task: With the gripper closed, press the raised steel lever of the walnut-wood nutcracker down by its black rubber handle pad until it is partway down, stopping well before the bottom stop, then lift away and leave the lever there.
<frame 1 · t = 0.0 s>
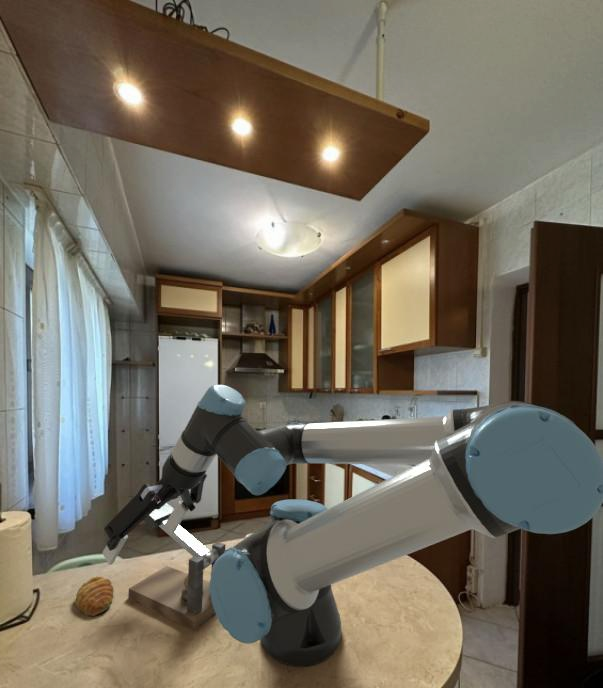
hand: (141, 541, 65), 15 cm above the table, tool tilted 35°, fingers open, 13 cm apart
nutcracker base: (178, 599, 71), on the table
lever: (179, 533, 73), point 13 cm above the table, hinge at -20.0°
pepper shaker: (250, 586, 75), on the table
pastry: (96, 603, 70), on the table
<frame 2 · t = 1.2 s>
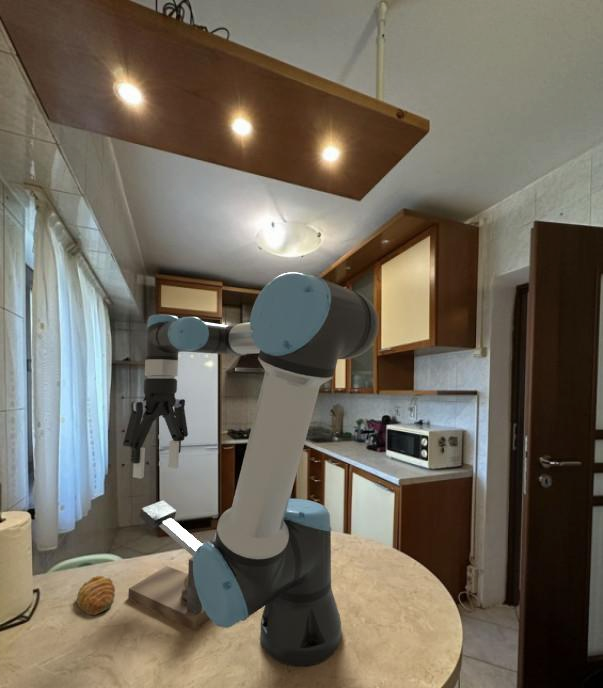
hand: (156, 472, 78), 26 cm above the table, tool pointing down, fingers open, 9 cm apart
nothing on the table moved.
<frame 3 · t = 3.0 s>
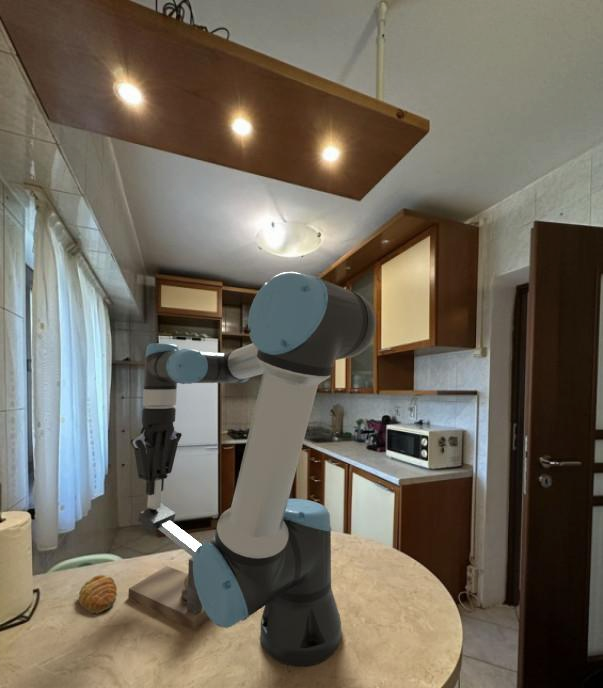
hand: (153, 507, 77), 17 cm above the table, tool pointing down, fingers closed
lever: (179, 535, 73), point 13 cm above the table, hinge at -17.2°, touching gripper
everything else where it was.
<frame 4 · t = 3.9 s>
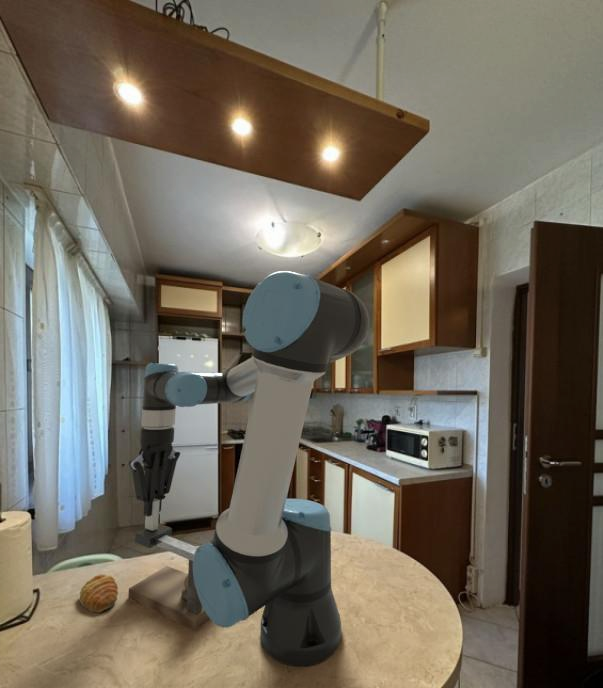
hand: (151, 528, 77), 13 cm above the table, tool pointing down, fingers closed
lever: (177, 546, 73), point 11 cm above the table, hinge at -2.6°, touching gripper
everything else where it was.
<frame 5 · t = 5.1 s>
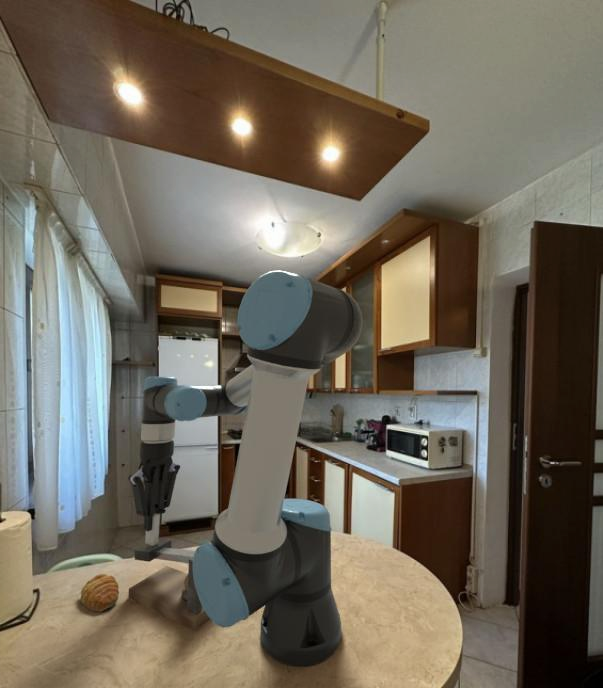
hand: (151, 542, 77), 9 cm above the table, tool pointing down, fingers closed
lever: (177, 554, 72), point 9 cm above the table, hinge at 8.2°, touching gripper
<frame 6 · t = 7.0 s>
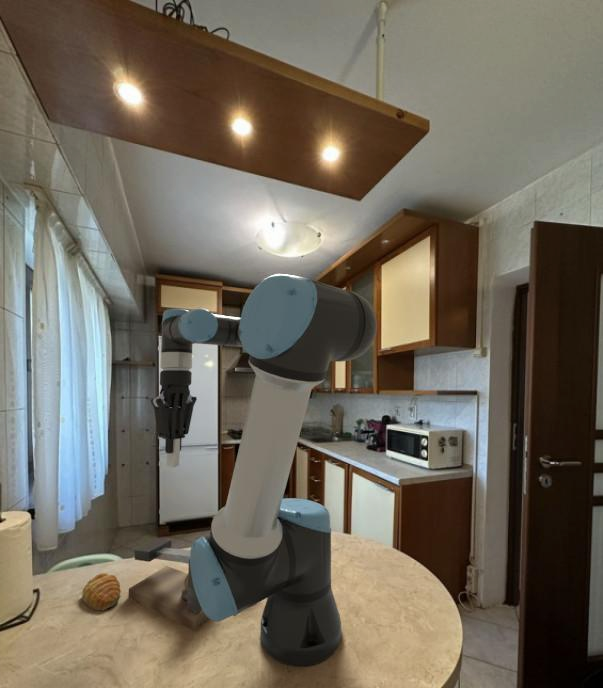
hand: (172, 465, 80), 26 cm above the table, tool pointing down, fingers closed
lever: (177, 554, 72), point 9 cm above the table, hinge at 8.2°
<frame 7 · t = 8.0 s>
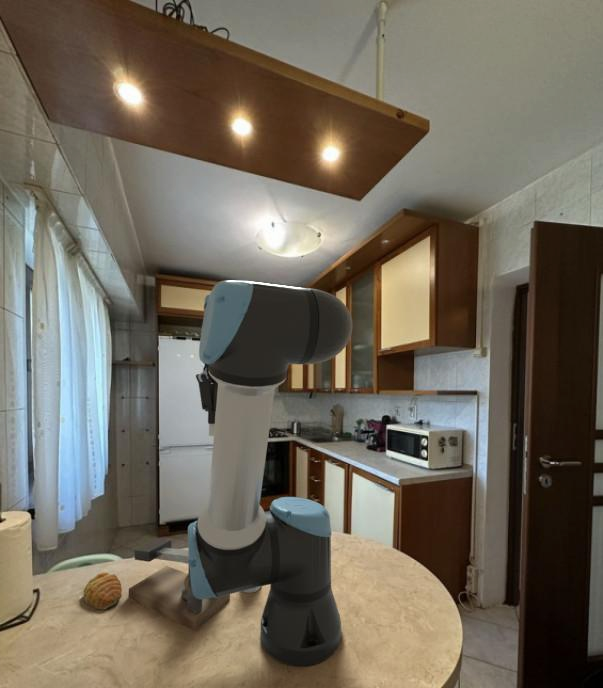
hand: (214, 435, 89), 32 cm above the table, tool pointing down, fingers closed
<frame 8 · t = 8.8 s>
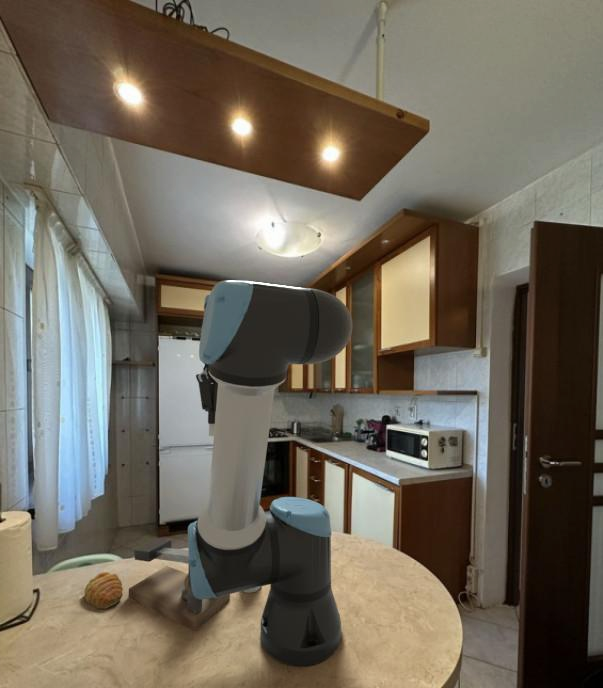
hand: (214, 435, 89), 32 cm above the table, tool pointing down, fingers closed
at the end: lever at +8° (first picture: -20°); the gripper is holding nothing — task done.
